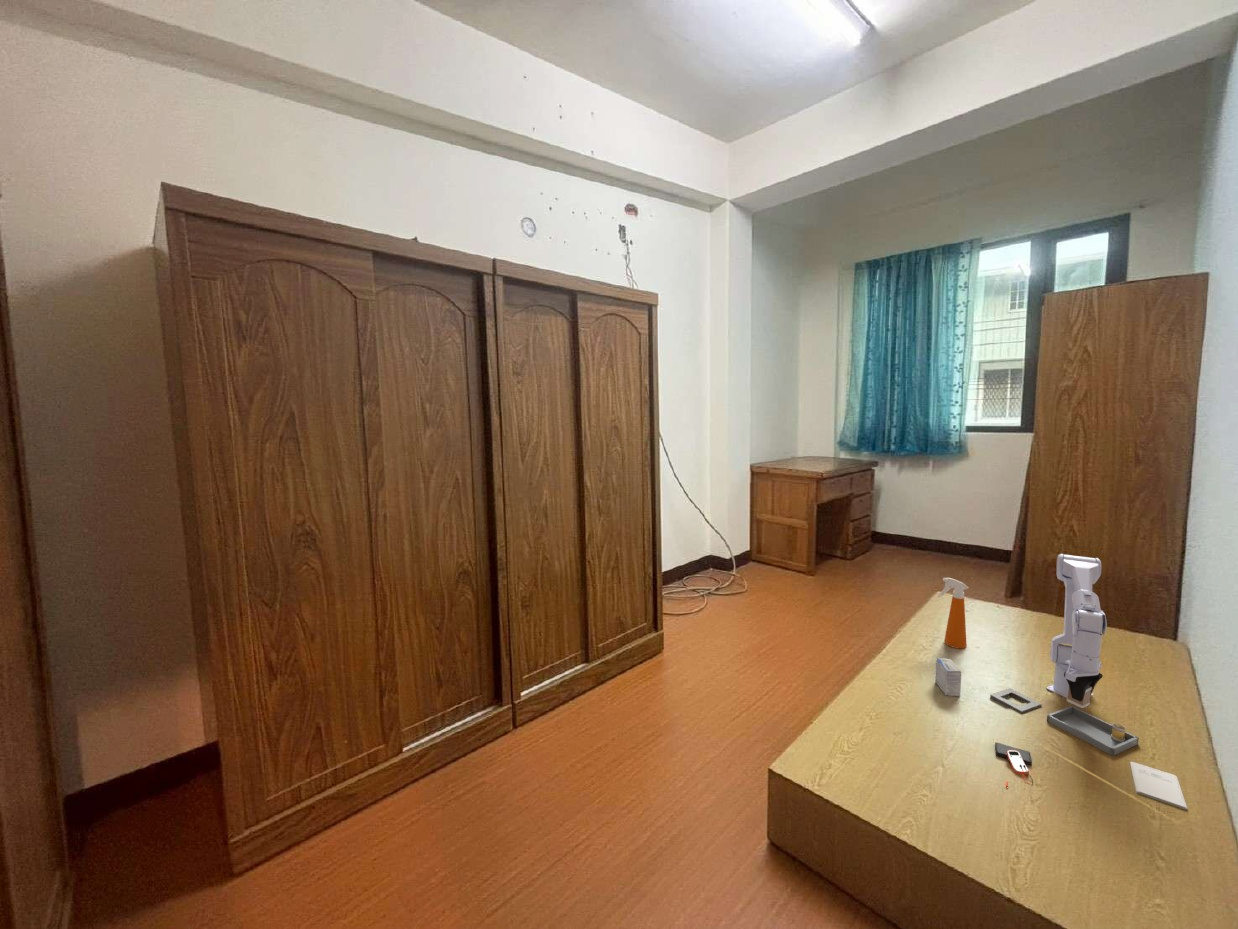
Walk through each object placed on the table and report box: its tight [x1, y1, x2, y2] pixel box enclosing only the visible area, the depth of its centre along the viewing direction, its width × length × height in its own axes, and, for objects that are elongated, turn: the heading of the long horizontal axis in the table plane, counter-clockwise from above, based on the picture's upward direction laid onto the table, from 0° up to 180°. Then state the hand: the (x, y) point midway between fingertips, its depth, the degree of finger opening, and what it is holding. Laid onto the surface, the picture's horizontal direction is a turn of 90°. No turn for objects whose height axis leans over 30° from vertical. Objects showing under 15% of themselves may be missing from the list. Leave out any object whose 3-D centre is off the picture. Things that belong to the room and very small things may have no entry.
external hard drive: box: [1129, 761, 1188, 811], centre depth 121 cm, size 2×8×12 cm
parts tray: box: [1046, 705, 1139, 757], centre depth 140 cm, size 11×15×2 cm
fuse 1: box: [1066, 686, 1092, 709], centre depth 142 cm, size 4×4×6 cm
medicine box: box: [934, 657, 962, 697], centre depth 162 cm, size 8×4×9 cm, turn 168°
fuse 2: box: [1111, 722, 1127, 743], centre depth 137 cm, size 3×3×4 cm
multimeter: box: [994, 742, 1034, 789], centre depth 127 cm, size 18×12×3 cm, turn 142°
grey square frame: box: [989, 687, 1043, 714], centre depth 154 cm, size 9×9×1 cm
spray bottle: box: [936, 577, 970, 649], centre depth 189 cm, size 7×11×26 cm, turn 82°
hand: (1080, 697), depth 142 cm, fingers closed on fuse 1, 4 cm apart
